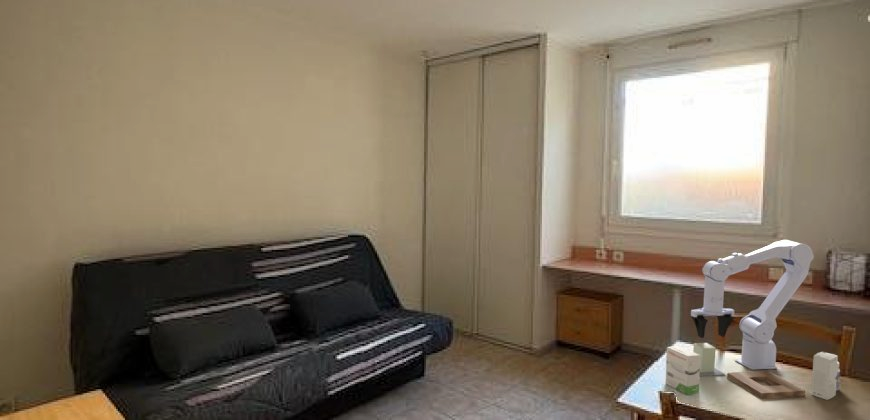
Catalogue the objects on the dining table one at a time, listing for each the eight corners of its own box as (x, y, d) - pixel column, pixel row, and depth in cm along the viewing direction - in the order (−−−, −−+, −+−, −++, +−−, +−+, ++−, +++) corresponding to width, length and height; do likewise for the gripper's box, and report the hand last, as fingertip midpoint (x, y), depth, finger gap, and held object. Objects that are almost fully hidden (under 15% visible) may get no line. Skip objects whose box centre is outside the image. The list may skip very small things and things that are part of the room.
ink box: (699, 393, 146) (702, 354, 145) (686, 395, 144) (689, 356, 143) (676, 380, 154) (678, 344, 153) (664, 383, 152) (666, 346, 151)
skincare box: (828, 400, 142) (831, 360, 141) (809, 394, 146) (813, 354, 144) (836, 395, 145) (839, 355, 144) (818, 389, 149) (821, 350, 148)
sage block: (704, 365, 164) (706, 342, 164) (714, 371, 160) (715, 347, 159) (692, 366, 164) (693, 343, 163) (701, 372, 159) (702, 348, 159)
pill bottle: (833, 392, 147) (836, 365, 146) (815, 386, 151) (817, 359, 150) (841, 389, 149) (844, 362, 148) (823, 382, 153) (825, 356, 152)
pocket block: (766, 375, 158) (767, 370, 158) (804, 395, 145) (805, 390, 144) (727, 377, 157) (727, 372, 156) (761, 398, 143) (761, 393, 143)
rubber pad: (706, 364, 167) (706, 362, 167) (725, 375, 158) (725, 374, 158) (681, 365, 166) (681, 364, 166) (699, 376, 157) (699, 375, 157)
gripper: (701, 301, 161) (699, 341, 162) (742, 299, 162) (739, 339, 164) (687, 295, 168) (685, 334, 169) (726, 294, 169) (724, 332, 171)
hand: (711, 336), depth 167 cm, fingers open, 7 cm apart
